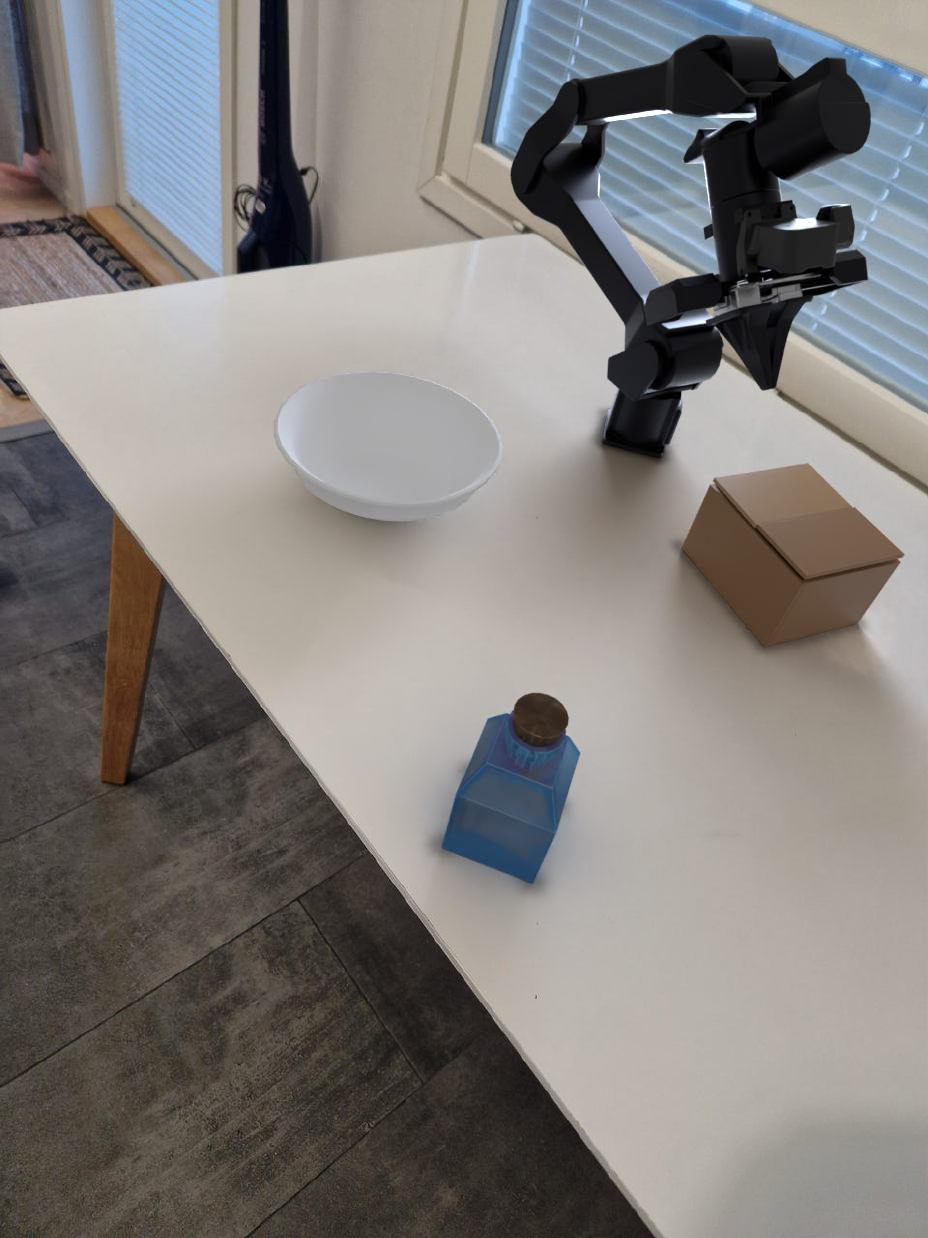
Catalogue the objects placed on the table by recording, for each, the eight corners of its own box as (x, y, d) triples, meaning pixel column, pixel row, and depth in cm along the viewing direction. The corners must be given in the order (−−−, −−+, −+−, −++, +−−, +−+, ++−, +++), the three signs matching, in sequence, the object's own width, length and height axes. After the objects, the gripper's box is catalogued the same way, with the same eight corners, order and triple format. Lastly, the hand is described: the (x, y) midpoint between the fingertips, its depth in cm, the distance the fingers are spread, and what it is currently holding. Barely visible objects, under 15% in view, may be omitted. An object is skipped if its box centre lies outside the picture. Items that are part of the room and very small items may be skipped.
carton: (681, 548, 80) (713, 476, 75) (771, 530, 84) (807, 462, 79) (764, 647, 73) (806, 576, 67) (858, 623, 77) (906, 554, 71)
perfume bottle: (557, 806, 59) (605, 695, 50) (533, 884, 54) (581, 777, 46) (472, 773, 59) (505, 658, 51) (441, 847, 55) (471, 736, 47)
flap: (712, 481, 75) (714, 477, 75) (806, 466, 79) (808, 462, 79) (754, 528, 71) (756, 524, 71) (850, 510, 75) (852, 506, 75)
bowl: (533, 505, 81) (548, 449, 77) (378, 597, 70) (386, 537, 65) (388, 405, 89) (394, 349, 85) (227, 473, 78) (224, 412, 73)
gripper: (700, 180, 63) (730, 398, 66) (908, 153, 68) (927, 357, 71) (629, 226, 73) (657, 412, 76) (813, 200, 78) (833, 375, 81)
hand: (768, 389), depth 76 cm, fingers closed
